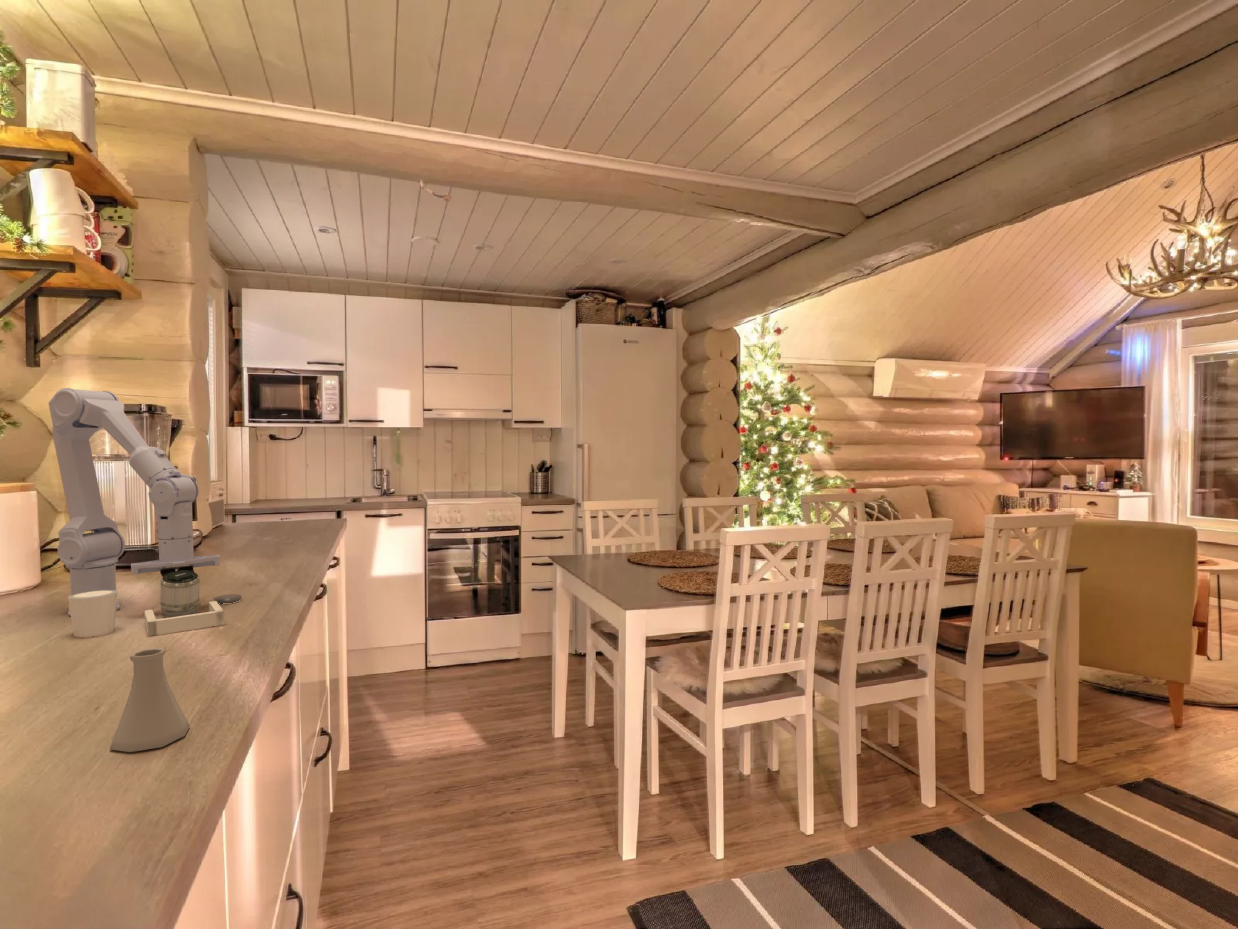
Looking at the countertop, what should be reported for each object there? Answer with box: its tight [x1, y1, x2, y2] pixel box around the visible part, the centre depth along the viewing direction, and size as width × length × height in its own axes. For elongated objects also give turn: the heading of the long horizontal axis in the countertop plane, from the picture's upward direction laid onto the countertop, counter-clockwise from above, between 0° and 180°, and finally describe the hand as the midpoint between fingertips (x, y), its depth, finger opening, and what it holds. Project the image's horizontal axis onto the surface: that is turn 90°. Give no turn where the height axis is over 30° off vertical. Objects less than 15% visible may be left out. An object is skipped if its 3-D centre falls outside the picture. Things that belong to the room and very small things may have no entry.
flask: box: [109, 647, 191, 753], centre depth 75 cm, size 7×7×10 cm
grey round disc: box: [213, 593, 242, 604], centre depth 140 cm, size 5×5×1 cm
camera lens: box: [159, 570, 201, 618], centre depth 127 cm, size 6×6×8 cm
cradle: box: [144, 600, 225, 637], centre depth 122 cm, size 10×11×2 cm
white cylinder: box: [67, 589, 118, 638], centre depth 117 cm, size 7×7×7 cm
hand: (178, 605), depth 132 cm, fingers closed, pressing on camera lens
